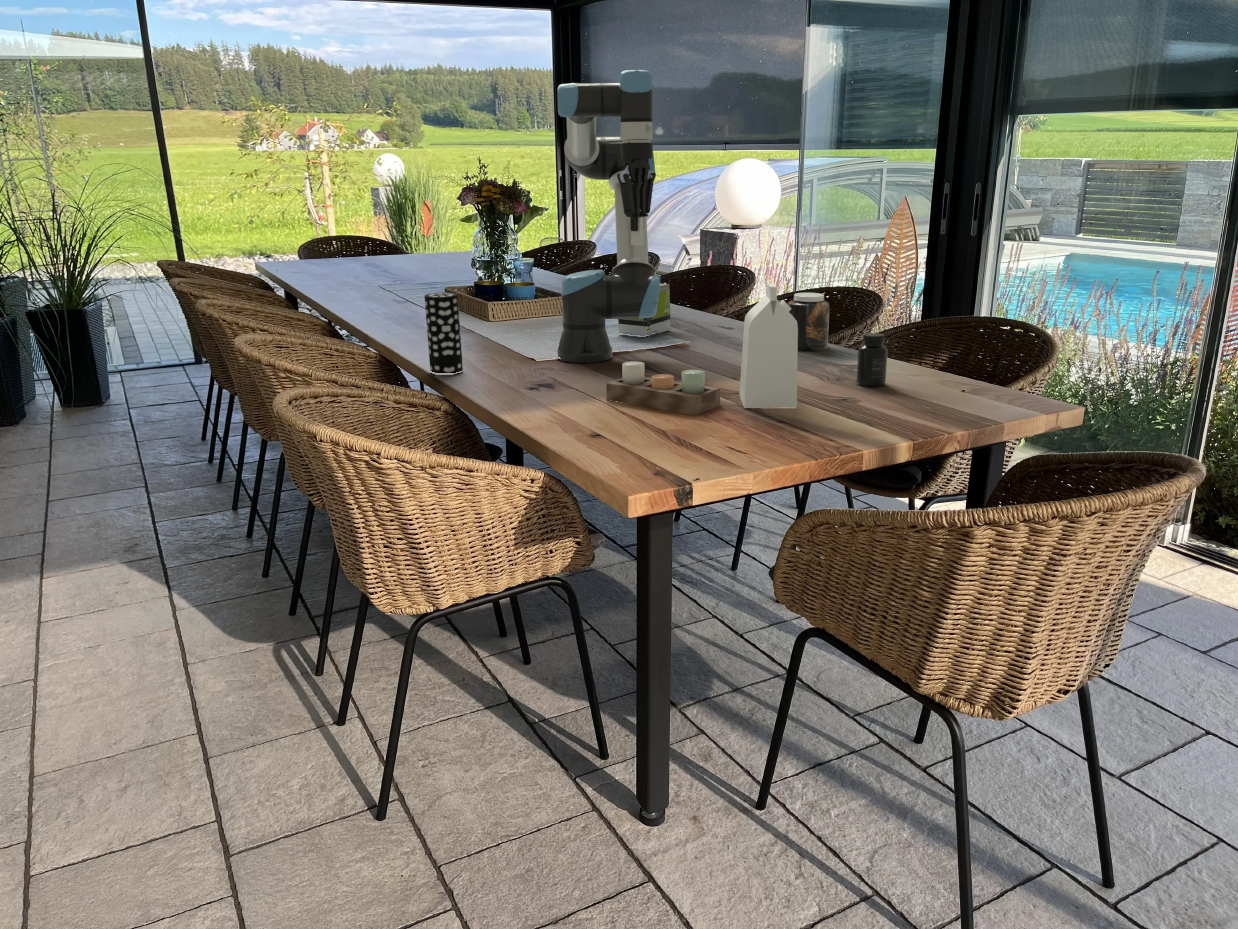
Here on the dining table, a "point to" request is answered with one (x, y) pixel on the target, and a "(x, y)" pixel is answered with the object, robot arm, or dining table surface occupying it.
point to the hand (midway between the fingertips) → (637, 244)
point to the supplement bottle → (872, 360)
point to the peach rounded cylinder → (662, 381)
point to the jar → (811, 320)
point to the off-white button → (633, 373)
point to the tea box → (650, 324)
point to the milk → (769, 354)
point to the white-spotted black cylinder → (443, 332)
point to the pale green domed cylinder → (693, 381)
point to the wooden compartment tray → (663, 397)
